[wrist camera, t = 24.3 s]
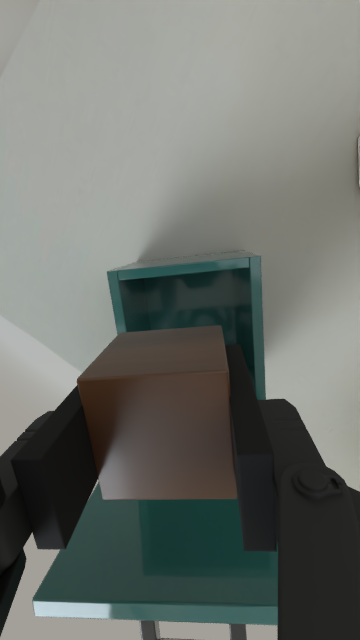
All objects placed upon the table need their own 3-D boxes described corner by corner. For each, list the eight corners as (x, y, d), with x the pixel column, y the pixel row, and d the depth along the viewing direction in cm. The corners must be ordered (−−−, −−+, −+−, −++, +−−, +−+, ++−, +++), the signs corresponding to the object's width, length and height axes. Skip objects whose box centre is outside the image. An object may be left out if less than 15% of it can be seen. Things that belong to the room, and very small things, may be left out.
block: (119, 332, 13) (75, 379, 9) (221, 324, 12) (229, 370, 8) (134, 420, 14) (102, 501, 10) (228, 417, 14) (238, 500, 9)
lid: (30, 599, 11) (57, 759, 12) (348, 609, 10) (354, 788, 11) (131, 423, 25) (140, 503, 26) (267, 418, 24) (272, 501, 25)
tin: (136, 261, 32) (106, 271, 22) (244, 250, 31) (260, 255, 21) (152, 375, 35) (132, 425, 26) (250, 369, 34) (266, 419, 25)
